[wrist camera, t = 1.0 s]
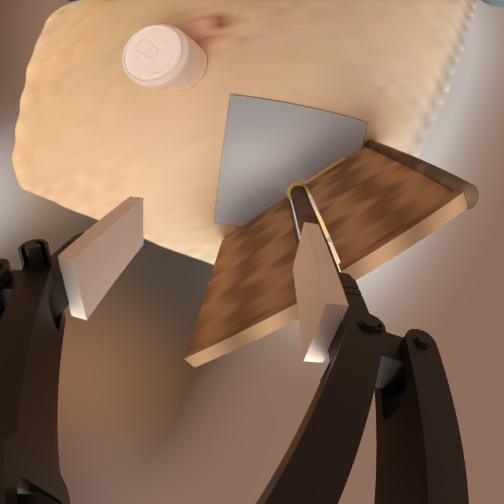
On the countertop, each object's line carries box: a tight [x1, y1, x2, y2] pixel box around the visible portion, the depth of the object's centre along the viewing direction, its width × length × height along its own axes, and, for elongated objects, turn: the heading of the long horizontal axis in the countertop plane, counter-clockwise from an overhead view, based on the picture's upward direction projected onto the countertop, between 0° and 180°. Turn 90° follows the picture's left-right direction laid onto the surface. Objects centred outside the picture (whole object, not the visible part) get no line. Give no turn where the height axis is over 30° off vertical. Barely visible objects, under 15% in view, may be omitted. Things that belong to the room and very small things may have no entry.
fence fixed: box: [290, 140, 479, 280], centre depth 30 cm, size 16×2×26 cm, turn 126°
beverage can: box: [122, 24, 207, 91], centre depth 30 cm, size 8×8×12 cm
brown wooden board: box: [184, 198, 299, 367], centre depth 34 cm, size 12×1×25 cm, turn 126°
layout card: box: [214, 95, 367, 242], centre depth 42 cm, size 20×20×1 cm
